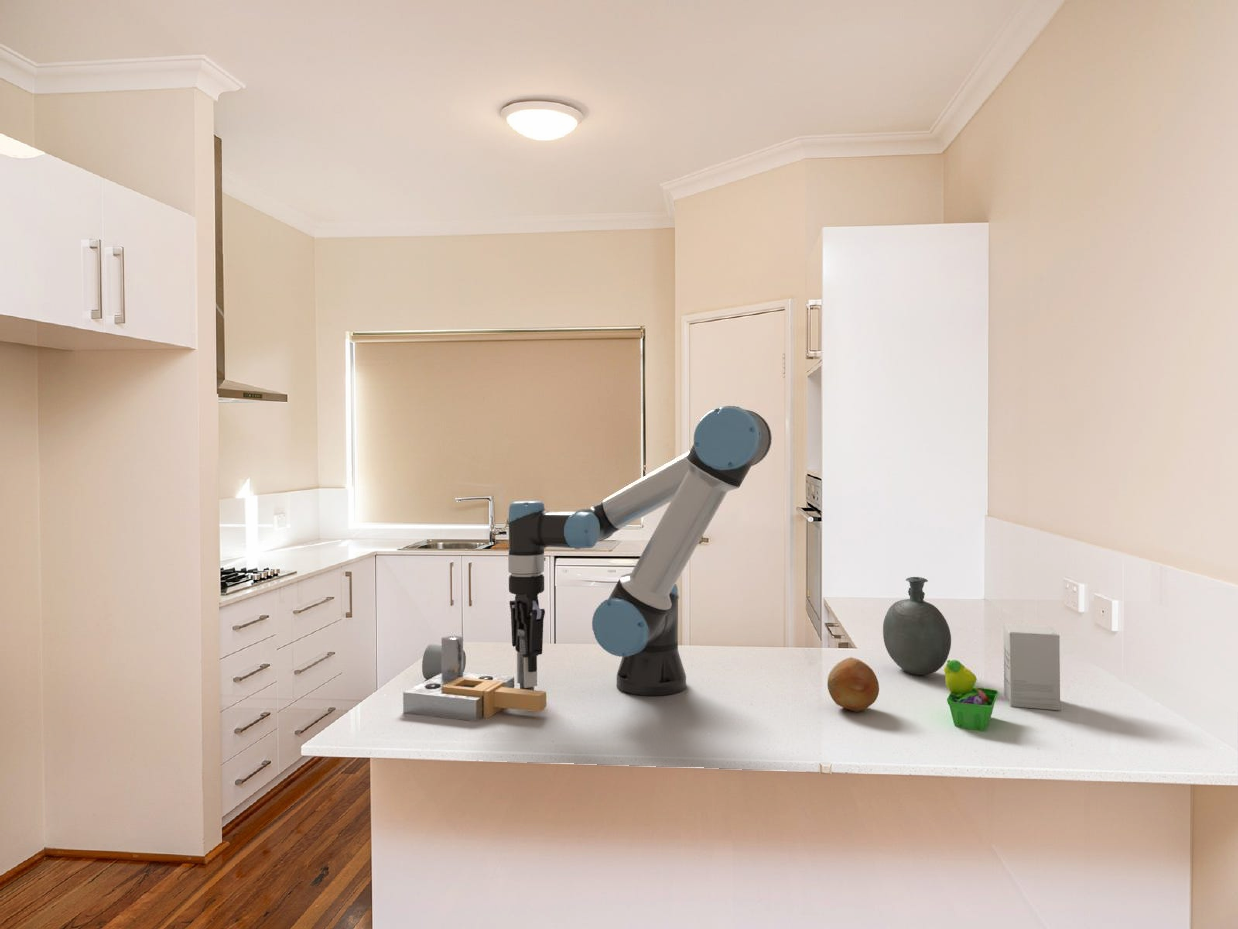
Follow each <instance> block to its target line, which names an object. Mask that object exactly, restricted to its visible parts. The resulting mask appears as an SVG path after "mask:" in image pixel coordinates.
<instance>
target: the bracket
mask: <svg viewBox="0 0 1238 929" xmlns="http://www.w3.org/2000/svg"><path fill="white" fill-rule="evenodd" d="M463 685H474V686H475V687H474V688H471V687H461V686H463ZM442 692H448V693H457V694H466V695H476V696H484V717H483V718H491V716H493V715H495V714H497V712H499V711H500V710H502V709H512V710H520V711H530V712H538V713H540V712H541V711H543V710H544V709H546V708H547V691H543V690H535V689H534V690H526V689H520V688H517V687H514V688H507V687H505V681H495V680H485V679H475V678H465V677H459V678H457V679H455V680H453V681H451V682H450V683H448V684H446V685H444V686H442Z"/></svg>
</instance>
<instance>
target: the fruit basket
mask: <svg viewBox="0 0 1238 929" xmlns="http://www.w3.org/2000/svg"><path fill="white" fill-rule="evenodd" d="M943 673H944V674H945V686H946V687H947V689H948V691H949V692H950V693H949V695H948V696H947V697H946V701H947V702H946V703H947V705H948V706H949V709H950V713H951V717H952V718H951V719H952V721H953V726H954V727H958V728H962V729H963V728H964V729H969V730H975V731H977V730H978V731H980V732H981V731H983V732H985V731H986V729H987V727H988V725H989V722H990V720H991V717H992V714H993V711H994V707H995V703H996V700H997V698H998V696H999V690H997V689H992V688H985V687H978V686H975V684H976V682H977V680H978V679H977V677H976V674H975V673H973V672H972V671H971V670H970V669H969V668H968V667H966V666H965V665H963V664H962V663H961V662H960V661H959V660H958V659H952V660H950V659H947V660H946V664H945V665H944V669H943Z"/></svg>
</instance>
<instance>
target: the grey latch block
mask: <svg viewBox="0 0 1238 929" xmlns="http://www.w3.org/2000/svg"><path fill="white" fill-rule="evenodd" d="M441 645H442V673H441V674H439V675H437V676H435V677H433V678H431V679H426V680H424V681H423V682H421V683H419V684H417V685H415V686H413V687H411V688H409V689H407V690H405V691H403V694H402V696H403V697H402V700H403V701H402V704H403V705H402V706H403V708H402V709H403V710H402V712H403V714H404V713H405V714H412V715H421V716H429V717H437V718H446V719H453V720H463V721H471V722H477V721H480V719H483V718H485V717H484V696H476V695H466V694H457V693H448V692H442V686H444V685H446V684H448V683H450V682H451V681H453V680H455V679H457V678H459V677H465V678H475V679H485V680H495V681H505V687H507V688H515V676H506V675H497V674H496V675H495V674H485V673H473V672H465V671H464V672H463V650H464V637H463V636H461V635H447V636H443V637H442V638H441ZM461 687H471V688H474V687H475V686H474V685H463V686H461Z"/></svg>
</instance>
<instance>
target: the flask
mask: <svg viewBox="0 0 1238 929" xmlns="http://www.w3.org/2000/svg"><path fill="white" fill-rule="evenodd" d="M905 581H906V582H909V583H908V584H909V587H908V591H907V593H908V596H909V598H907V599H899V600H898V601H895V602H894V603H892V605H890V606H889V608H888V610H887V612H886V614H885V616H884V619H883V622H882V623H883V625H882V636H883V637H882V638H883V643H884V646H885V649H886V651H887V653H888V655H889V657H890V658H891V659H892V660H893V662H894V663H895V664H896V665H897V666H898V667H899V668H901V669H902V670H903V671H904V672H907V673H909V674H911V675H914V676H928V675H931V674H934V673H936V672H938V671H939V670H940V669H942V667H943V666H945V665H946V663H947V661H948V658H949V654H950V650H951V648H952V634H951V629H950V626H949V624H948V621H947V619H946V617H945V616H944V615H943V613H942V612H941V611H940V610H939V609H938V607H936V606H935V605H934V604H932V603H930V602H927V601H925V600H924V599H925V595H926V594H925V592H924V590H923V588H924V586H925V583H928V582H929V580H928V579H926V578H924V577H920V576H910V577H908V578H906V579H905Z"/></svg>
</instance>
